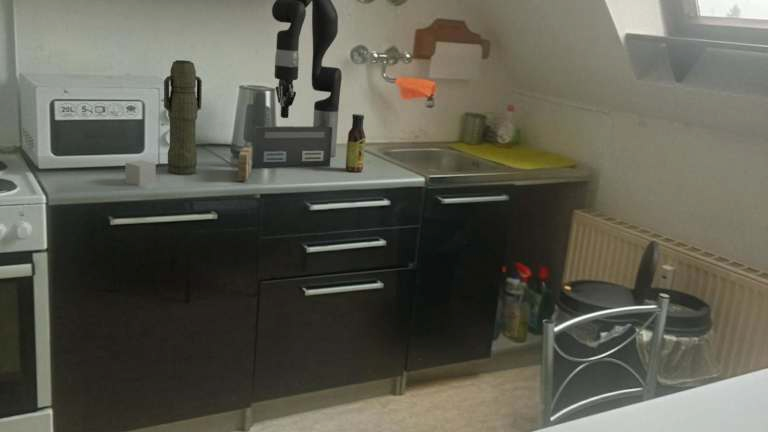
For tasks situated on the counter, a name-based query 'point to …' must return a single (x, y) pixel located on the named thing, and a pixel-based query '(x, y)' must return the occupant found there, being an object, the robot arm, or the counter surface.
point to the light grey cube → (140, 172)
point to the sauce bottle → (355, 145)
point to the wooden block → (245, 163)
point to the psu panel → (291, 146)
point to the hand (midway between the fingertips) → (284, 117)
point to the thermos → (182, 116)
